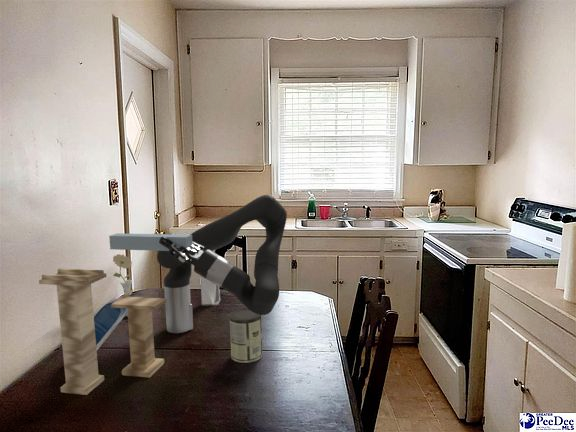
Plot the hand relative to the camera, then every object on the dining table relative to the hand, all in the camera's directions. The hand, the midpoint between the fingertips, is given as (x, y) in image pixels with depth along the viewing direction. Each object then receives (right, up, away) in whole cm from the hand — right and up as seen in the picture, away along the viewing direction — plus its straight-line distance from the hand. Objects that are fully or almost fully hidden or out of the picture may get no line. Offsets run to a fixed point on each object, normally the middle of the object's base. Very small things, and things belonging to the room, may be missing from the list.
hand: (164, 237), depth 125 cm
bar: (-4, -3, +1) cm, 6 cm away
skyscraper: (+1, -32, +66) cm, 73 cm away
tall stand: (-23, -42, -2) cm, 48 cm away
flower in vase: (-31, -34, +55) cm, 72 cm away
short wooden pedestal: (-9, -40, +8) cm, 42 cm away
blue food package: (-31, -37, +13) cm, 50 cm away
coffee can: (+22, -39, +16) cm, 48 cm away
